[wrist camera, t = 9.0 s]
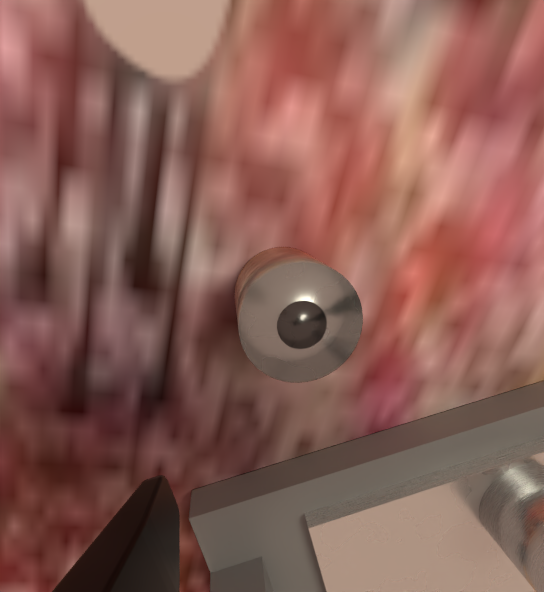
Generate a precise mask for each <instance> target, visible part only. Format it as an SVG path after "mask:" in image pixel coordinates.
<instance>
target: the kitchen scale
mask: <svg viewBox="0 0 544 592" xmlns="http://www.w3.org/2000/svg"><path fill="white" fill-rule="evenodd" d="M522 465H539V466H543V467H544V381H541V382H538V383H535V384H532V385H528V386H525V387H522V388H519V389H516V390H512V391H509V392H506V393H503V394H500V395H496V396H493V397H490V398H487V399H483V400H480V401H477V402H474V403H471V404H467V405H464V406H461V407H458V408H455V409H451V410H448V411H445V412H442V413H438V414H435V415H432V416H429V417H426V418H422V419H419V420H416V421H413V422H410V423H406V424H403V425H400V426H397V427H394V428H390V429H387V430H384V431H381V432H377V433H374V434H371V435H368V436H365V437H361V438H358V439H355V440H352V441H349V442H345V443H342V444H339V445H336V446H332V447H329V448H326V449H323V450H320V451H316V452H313V453H310V454H307V455H304V456H300V457H297V458H294V459H291V460H287V461H284V462H281V463H278V464H275V465H271V466H268V467H265V468H262V469H259V470H255V471H252V472H249V473H246V474H243V475H239V476H236V477H233V478H230V479H226V480H223V481H220V482H217V483H214V484H210V485H207V486H204V487H201V488H198V489H194V490H192V493H191V502H190V512H189V521H190V523H191V526H192V528H193V531H194V533H195V536H196V538H197V541H198V543H199V546H200V548H201V551H202V553H203V556H204V558H205V560H206V563H207V565H208V568H209V570H210V592H536V591H535V590H534V589H533V588H532V586H531V585H530V584H529V583H528V582H527V580H526V579H525V578H524V577H523V575H522V574H521V573H520V572H519V570H518V569H517V568H516V567H515V565H514V564H513V563H512V562H511V560H510V559H509V558H508V557H507V555H506V554H505V553H504V552H503V550H502V549H501V548H500V547H499V545H498V544H497V543H496V542H495V541H494V539H493V538H492V537H491V536H490V534H489V533H488V532H487V531H486V529H485V528H484V527H483V525H482V524H481V521H480V518H479V506H480V502H481V499H482V497H483V495H484V493H485V491H486V490H487V488H488V487H489V486H490V484H491V483H492V482H493V481H494V480H495V479H496V478H498V477H499V476H500V475H502V474H503V473H505V472H506V471H508V470H510V469H513V468H515V467H518V466H522Z"/></svg>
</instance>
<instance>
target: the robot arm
mask: <svg viewBox="0 0 544 592" xmlns="http://www.w3.org/2000/svg"><path fill="white" fill-rule="evenodd" d="M52 592H179V509H178V505H177V503H176V500H175V498H174V495H173V493H172V490H171V488H170V485H169V483H168V481H167V479H166V478H165V476H163V475H160V476H157V477H153V478H150V479H147V480H145V481H143V483H142V484H141V485H140V486H139V487H138V488H137V490H136V491H135V492H134V493H133V494H132V496H131V497H130V498H129V499H128V500H127V502H126V503H125V504H124V505H123V506H122V508H121V509H120V510H119V511H118V513H117V514H116V515H115V516H114V517H113V519H112V520H111V521H110V522H109V523H108V525H107V526H106V527H105V528H104V529H103V531H102V532H101V533H100V534H99V535H98V537H97V538H96V539H95V540H94V542H93V543H92V544H91V545H90V546H89V548H88V549H87V550H86V551H85V552H84V554H83V555H82V556H81V557H80V558H79V560H78V561H77V562H76V563H75V564H74V566H73V567H72V568H71V569H70V571H69V572H68V573H67V574H66V575H65V577H64V578H63V579H62V580H61V581H60V583H59V584H58V585H57V586H56V587H55V589H54V590H53V591H52Z"/></svg>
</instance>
